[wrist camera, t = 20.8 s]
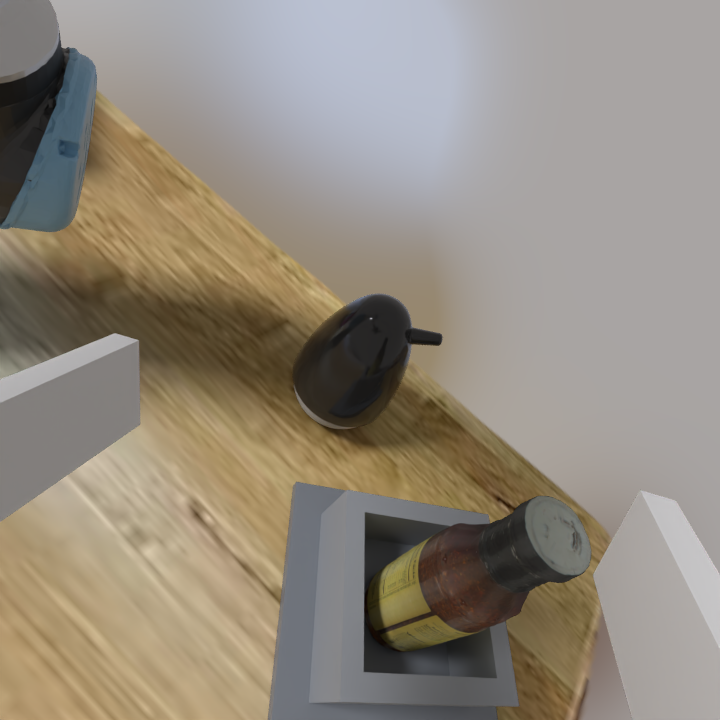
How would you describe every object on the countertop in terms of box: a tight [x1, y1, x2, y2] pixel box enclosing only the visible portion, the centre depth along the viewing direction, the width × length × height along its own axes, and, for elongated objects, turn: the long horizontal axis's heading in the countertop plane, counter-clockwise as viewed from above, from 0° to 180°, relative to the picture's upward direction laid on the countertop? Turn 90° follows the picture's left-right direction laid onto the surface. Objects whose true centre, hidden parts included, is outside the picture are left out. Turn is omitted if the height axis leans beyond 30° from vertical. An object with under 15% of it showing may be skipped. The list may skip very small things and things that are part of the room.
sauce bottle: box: [364, 496, 591, 652], centre depth 30 cm, size 6×6×20 cm
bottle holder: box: [268, 482, 519, 720], centre depth 35 cm, size 18×18×7 cm
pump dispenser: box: [293, 294, 442, 429], centre depth 42 cm, size 10×10×15 cm
